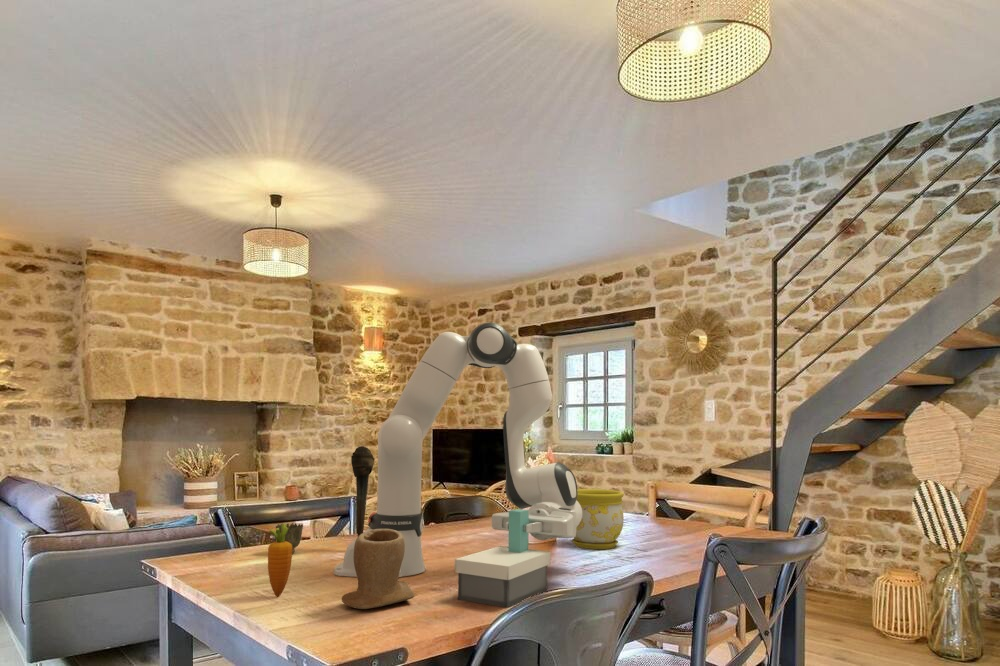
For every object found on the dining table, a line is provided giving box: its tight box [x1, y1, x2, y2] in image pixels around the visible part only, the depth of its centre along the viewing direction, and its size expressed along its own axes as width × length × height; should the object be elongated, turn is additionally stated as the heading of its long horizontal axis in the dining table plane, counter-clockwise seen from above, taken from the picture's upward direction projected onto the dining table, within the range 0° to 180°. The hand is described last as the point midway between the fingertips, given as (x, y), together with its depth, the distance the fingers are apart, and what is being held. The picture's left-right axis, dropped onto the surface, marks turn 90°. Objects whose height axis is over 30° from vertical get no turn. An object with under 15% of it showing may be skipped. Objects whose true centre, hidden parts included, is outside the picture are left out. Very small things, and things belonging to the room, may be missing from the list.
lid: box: [454, 508, 551, 580], centre depth 149 cm, size 19×13×12 cm
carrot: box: [267, 523, 293, 598], centre depth 144 cm, size 5×5×15 cm
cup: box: [275, 523, 304, 555], centre depth 190 cm, size 8×7×8 cm
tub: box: [457, 565, 548, 609], centre depth 148 cm, size 18×12×7 cm, turn 149°
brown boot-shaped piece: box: [340, 529, 415, 610], centre depth 139 cm, size 15×12×15 cm
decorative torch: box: [350, 445, 375, 537], centre depth 196 cm, size 7×7×30 cm
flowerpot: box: [571, 488, 625, 550], centre depth 209 cm, size 18×18×16 cm
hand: (516, 527), depth 154 cm, fingers closed on lid, 3 cm apart
